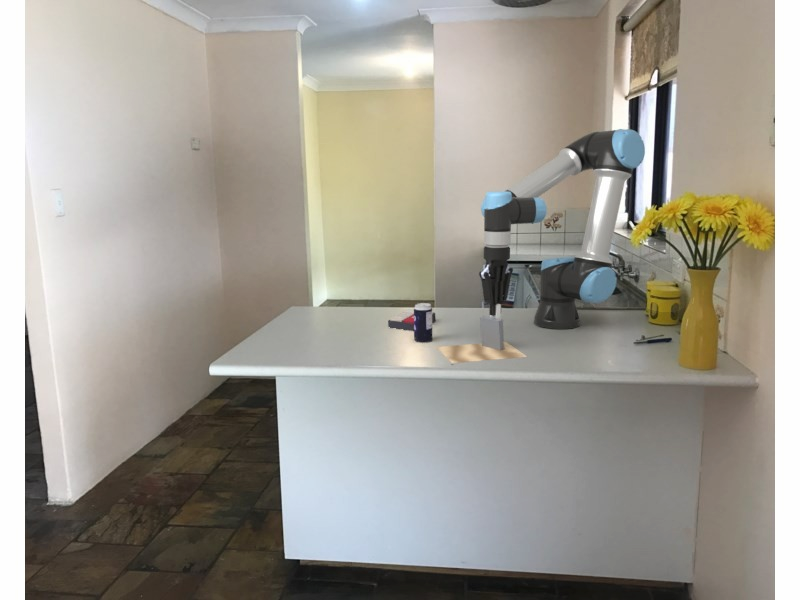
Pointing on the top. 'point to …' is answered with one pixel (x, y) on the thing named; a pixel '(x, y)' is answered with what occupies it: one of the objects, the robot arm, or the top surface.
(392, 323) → the calculator
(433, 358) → the top surface
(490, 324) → the slate tile
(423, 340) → the beverage can
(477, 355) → the cork mat
